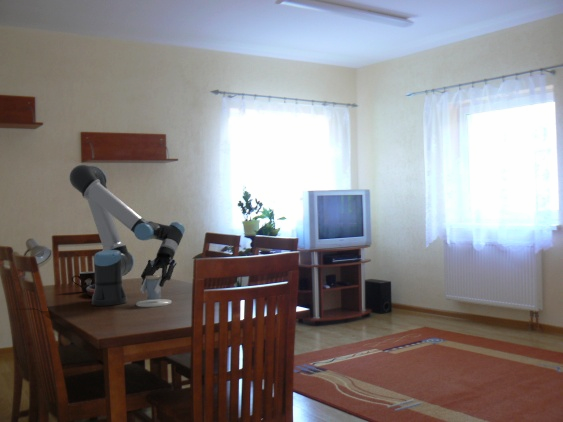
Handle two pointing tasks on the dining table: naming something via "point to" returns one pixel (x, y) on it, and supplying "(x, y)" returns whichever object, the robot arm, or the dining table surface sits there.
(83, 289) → the coffee mug
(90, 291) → the dish
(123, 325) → the dining table surface
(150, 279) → the jar
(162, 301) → the plate
